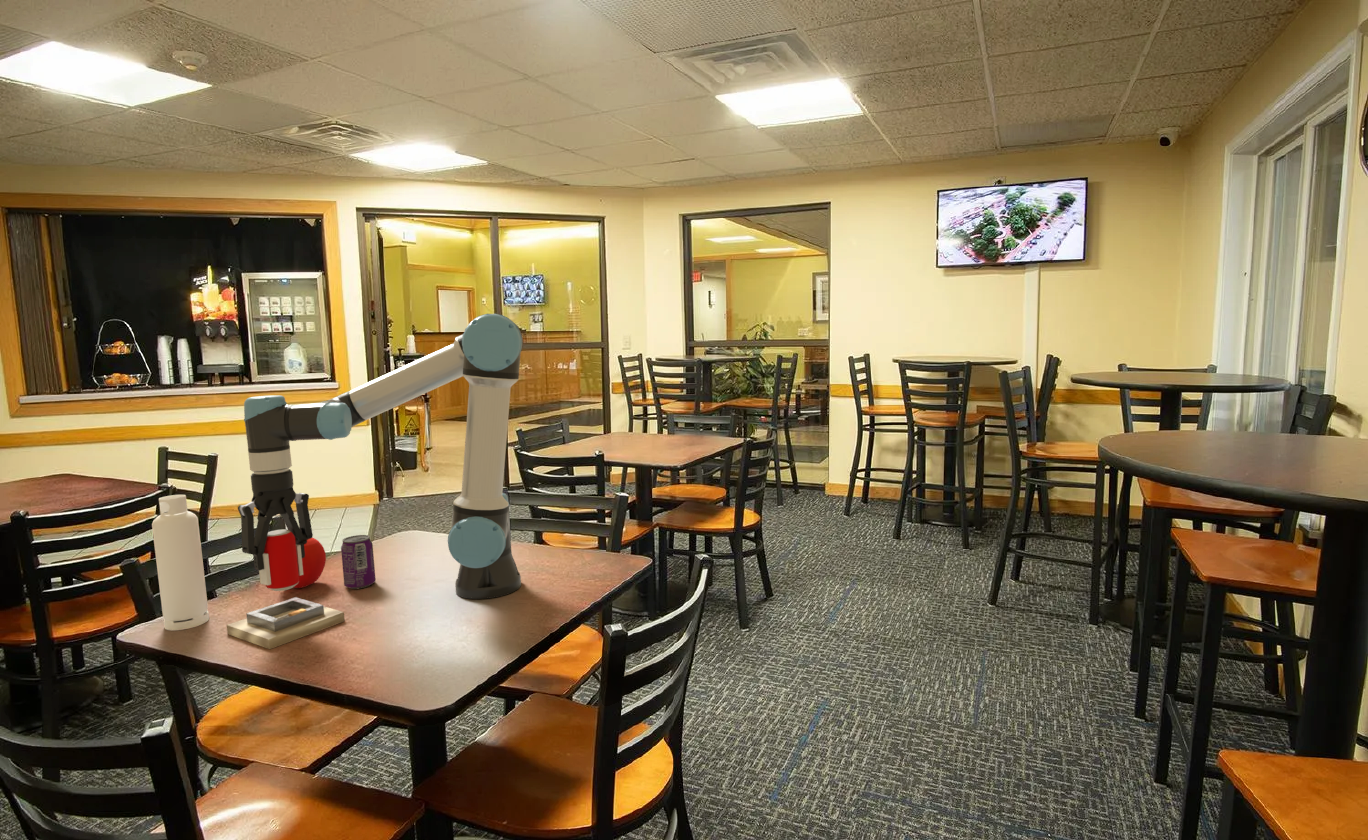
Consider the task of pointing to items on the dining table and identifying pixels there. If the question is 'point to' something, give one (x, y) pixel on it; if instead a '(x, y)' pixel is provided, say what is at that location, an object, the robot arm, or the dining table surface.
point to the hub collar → (302, 613)
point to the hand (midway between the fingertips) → (282, 578)
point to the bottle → (179, 564)
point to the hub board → (285, 635)
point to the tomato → (312, 563)
